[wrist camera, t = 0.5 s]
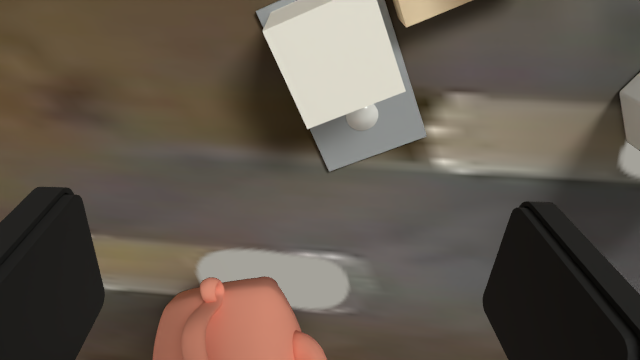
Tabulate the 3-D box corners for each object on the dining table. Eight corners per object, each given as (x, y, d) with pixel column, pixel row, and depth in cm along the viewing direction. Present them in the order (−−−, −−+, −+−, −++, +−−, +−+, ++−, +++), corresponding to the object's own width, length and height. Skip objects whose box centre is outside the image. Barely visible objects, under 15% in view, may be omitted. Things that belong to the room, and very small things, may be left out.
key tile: (371, -41, 27) (380, -35, 23) (425, 134, 33) (440, 161, 30) (256, 10, 29) (248, 24, 25) (329, 169, 35) (331, 199, 31)
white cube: (360, -28, 27) (371, -17, 22) (390, 63, 30) (405, 91, 25) (270, 12, 28) (262, 31, 23) (308, 96, 31) (307, 129, 26)
